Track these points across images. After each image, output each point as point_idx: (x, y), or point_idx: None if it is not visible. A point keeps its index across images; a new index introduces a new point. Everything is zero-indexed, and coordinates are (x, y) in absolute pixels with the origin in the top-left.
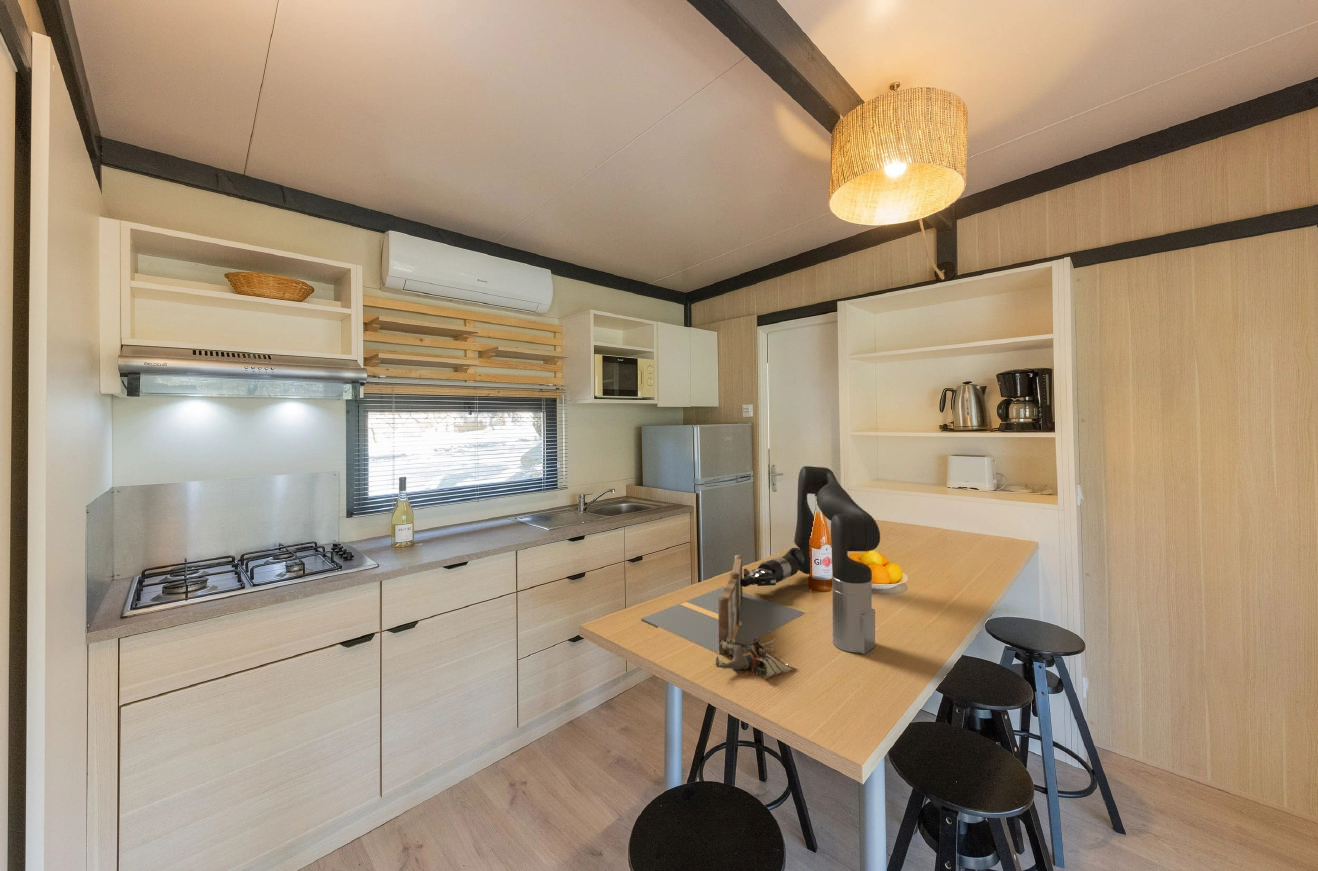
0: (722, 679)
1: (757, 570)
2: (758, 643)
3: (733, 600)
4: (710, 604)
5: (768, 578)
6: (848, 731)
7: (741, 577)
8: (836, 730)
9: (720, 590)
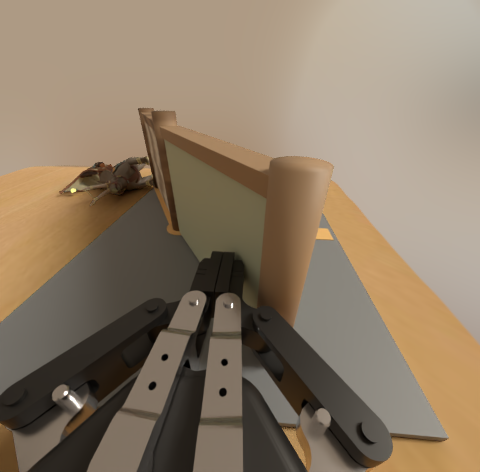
0: (146, 174)
1: (211, 419)
2: (108, 173)
3: (156, 150)
4: None
5: (80, 346)
6: (26, 174)
7: (259, 284)
8: (37, 173)
9: (385, 365)
